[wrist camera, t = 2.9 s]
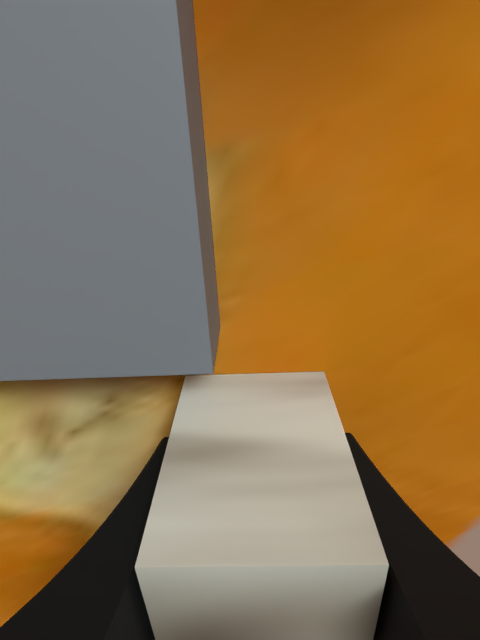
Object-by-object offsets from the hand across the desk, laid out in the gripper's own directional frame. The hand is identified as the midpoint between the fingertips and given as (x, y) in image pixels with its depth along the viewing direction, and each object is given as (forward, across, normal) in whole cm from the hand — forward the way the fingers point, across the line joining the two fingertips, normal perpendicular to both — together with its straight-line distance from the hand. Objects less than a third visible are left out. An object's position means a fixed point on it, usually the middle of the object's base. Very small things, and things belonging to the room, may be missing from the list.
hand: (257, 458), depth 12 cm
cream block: (+1, 0, 0) cm, 1 cm away
